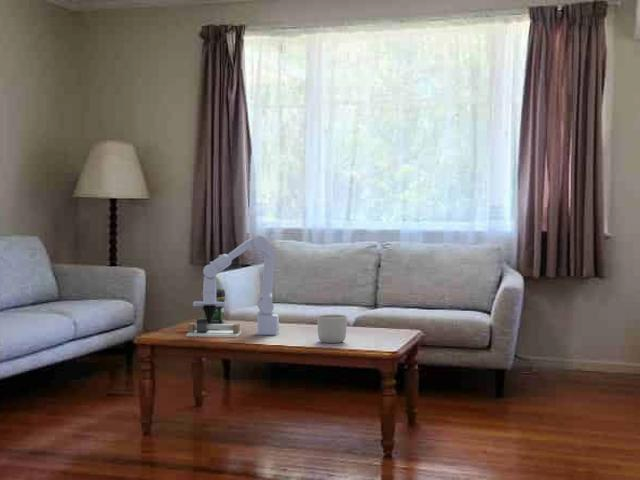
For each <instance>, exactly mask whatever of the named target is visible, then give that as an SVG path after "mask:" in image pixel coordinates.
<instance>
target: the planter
mask: <svg viewBox="0 0 640 480" xmlns="http://www.w3.org/2000/svg"><path fill="white" fill-rule="evenodd" d="M316 317H317V319H316V322H317V335H318V340H319V341H320V343H325V344H339V343H340V342H341V343H343V342H344V341H346V337H347V336H346V335H347V323H348V322H347V321H348V320H347V319H348V317H347V315H345V314H336V313H335V314H334V313H333V314H331V313H330V314H328V313H327V314H319V315H317V316H316ZM341 343H340V344H341Z"/></svg>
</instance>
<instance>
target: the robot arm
mask: <svg viewBox="0 0 640 480" xmlns="http://www.w3.org/2000/svg"><path fill="white" fill-rule="evenodd" d="M254 249H255V250H257V251H259V252H260V254H261V255H262V256H263V258H264V259H263V272H262V282H261V292H260V293H261V294H260V297H259V298H260V299H259V301H258V303H257V309H259V311H258V312H257V321H256V322H257V326H256V327H257V328H256V329H257V332H255V335H259V336H261V335H267V336H268V335H269V336H271V335H272V336H276V335H278V334H279V333H280V332H279V331H280V329H279V328H280V326H279V324H280V323H279V321H280V319H279V314H277V313H276V314H275V313H274V311H273V310H274V306H275V305H274V302H273V286H274V284H273V283H274V273H275V261H276V252H275V249H273V247H272V245H271V243H270V241H269V240H268V238H267V237H265V236H263V235H260V234H257V235H254V236H253V237H251V238H249V239H247V240H245V241H244V242H242V243H241V244H240V245H238V246H237V247H235V248H234V249H233V250H232V251H230V252H229V253H228V254H227V253H223V254H219V255H218V257H217V258H216V259H214V260H213V261H211V260H210V262H209V264H206V265H205V266H204V267H203V270H202V274H203V275H204V276H203V281H202V282H203V283H202V284H203V287H202V288H203V289H202V291H203V292H202V298H203V300H202V301H200V300H199V301H198V300H197V301H195V300H194V301H193V302H192V306H193V307H202V310H203V311H204V315H205V314H206V317H207V321H208V323H212V318H213V314H214V312H215V310H216V306H223V307H224V308H226V307H227V301H224V302H217V301H216V289H217V279H216V278H217V274H218V273H222V271H223V270H225V269H226V268H228V267H230V266H231V265H232V261H233V260H235V258H238V257H239V256H240V255H242V254H243V253H245V252H246V251H251V250H254ZM205 304H214V305H205Z"/></svg>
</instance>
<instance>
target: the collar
mask: <svg viewBox="0 0 640 480" xmlns="http://www.w3.org/2000/svg"><path fill="white" fill-rule="evenodd" d="M196 324H197V329H196V330H197V332H203V333H206V332H207V331H209V330H210V329H206V324H209V323H208V321H207V318H204V317H199V318H197V319H196Z"/></svg>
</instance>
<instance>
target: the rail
mask: <svg viewBox="0 0 640 480" xmlns="http://www.w3.org/2000/svg"><path fill="white" fill-rule="evenodd" d="M187 329H188V330H187V333H186V335H185V336H186V337H197V336H198V338H199V337H200V338H204V337H206V338H207V337H209V338H216V337H217V338H237V337H239V335H241V334H242V330H241V324H240V323H233V324H232V323H231V324H230V323H225V324H206V329H209V331H207V332H206V333H203V332H197V323H196V322H190V323H188V325H187Z"/></svg>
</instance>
